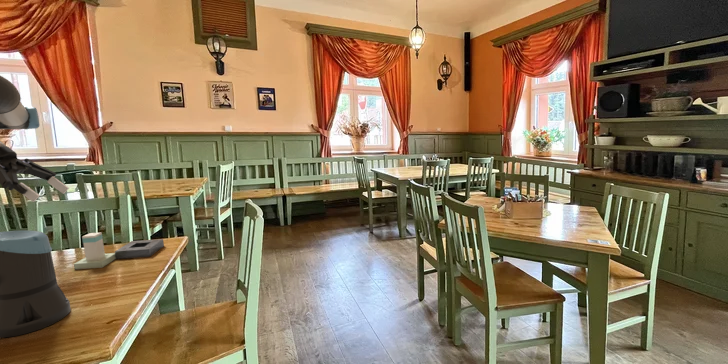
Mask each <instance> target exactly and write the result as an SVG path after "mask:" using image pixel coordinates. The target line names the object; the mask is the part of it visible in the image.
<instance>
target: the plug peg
mask: <svg viewBox="0 0 728 364" xmlns="http://www.w3.org/2000/svg"><path fill="white" fill-rule="evenodd" d="M81 238H82V244H83V250H84V255H85V257H86V261H99V260H101V259H103V258H104V257H105V254H106V252H105V246H104V239H103V238H104V237H103V234H102V232H91V233H90V232H89V233H87V234H85V235H83V236H81Z"/></svg>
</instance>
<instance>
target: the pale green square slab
mask: <svg viewBox="0 0 728 364" xmlns="http://www.w3.org/2000/svg"><path fill="white" fill-rule="evenodd" d="M115 260H117V259H116V256H115V252H111V253H105V257H104V258H103V259H101V260H99V261H86V256H85V257H83V258H82V259H80V260H78V261H76V262H74V263H73V267H74V270H84V269H85V270H86V269H97V268H99V269H101V268H104V267H106V266H107V265H108V264H110V263H111V262H113V261H115Z"/></svg>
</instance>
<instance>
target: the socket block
mask: <svg viewBox="0 0 728 364" xmlns="http://www.w3.org/2000/svg"><path fill="white" fill-rule="evenodd" d="M163 247H165V243H164V238H158V239H143V240H142V239H141V240H131V241H130V242H128V243H126V244H124V245H123V246H121V247H120V248H118V249H117V250H115V251H114V253H115V256H116V259H115V260H120V259H123V260H125V259H132V258H133V259H134V258H135V259H136V258H137V259H138V258H150V257H152V255H154V254H155V253H156V252H158V251H159V250H161V249H162V248H163Z"/></svg>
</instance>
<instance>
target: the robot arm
mask: <svg viewBox="0 0 728 364" xmlns="http://www.w3.org/2000/svg"><path fill="white" fill-rule="evenodd" d="M39 117H40V116H39V113H38V110H37V107H35V106H30V105H29V106H28V105H23V103H22V102H21V94H20V91H19V90H18V88H17V87H16V86H15V85H14V83H12V82H11V81H10V80H9V79H7V78H6V77H4V76H3V75H0V130H33V129H35V130H36V129H39V127H40V118H39ZM17 154H18V153H17V152H16V151H15V150H13V149H12V148H11V147H9V146H7V145H6V144H5V143H3V142H2V141H0V185H1V188H3V189H7V190H9V191H13V190H15V191H17V192H18V193H19V194H21V195H23V196H24V197H26V198H27V199H28V200H29V201H31V202H32V203H34V202H36V200H38V198H39V197H40V196H41V195H40V194H39V193H38V192H36V191H35V190H34V189H32V188H30V187H29V186H28V185H27V184H25V183H23V182H19V179H18V174H23V175H29V176H33V177H36V178H39V179H42V180H45V181H46V182H47V184H49V185H50V186H52V187H53V188H54V189H56V190H57V191H59V192H60V193H61V194H63V195H64V194H65V193H66V192H67V191H68V190H69V189H70V187H68V186H67V185H66V184H64V183H63V182H62V181H60V180H59V179H58V178H56V177H55V176H56V175H57V173H56V172H54V171H53V170H50V169H48V168H46V167H44V166H42V165H40V164H38V163H35V162H34V161H32V160H31V159H29V158H24V160H21V159H19V158H18V155H17ZM52 250H53V247H51V244H50V239H49V237H48V235H47V234H46V233H45V232H42V231H40V230H25V229H24V230H23V229H22V230H21V229H20V230H8V231H0V339H1V338H10V337H12V338H13V337H17V336H22V335H26V334H29V333H33V332H36V331H39V330H42V329H44V328H47V327H48V326H51V325H53V324H55V323H57V322H59V321H61V320H62V319H64V318H65V317H66V316H68V315H69V314H70V312H71V310H72V308H71V304H70V303H71V302H70V300H69V299H68V298H67V297H66V295H65V294H64V292H63V290H62V289H61V287H60V286H59V284H58V281H57V276H56V275H57V274H56V270H55V265H54V260H53V254H52Z"/></svg>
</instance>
